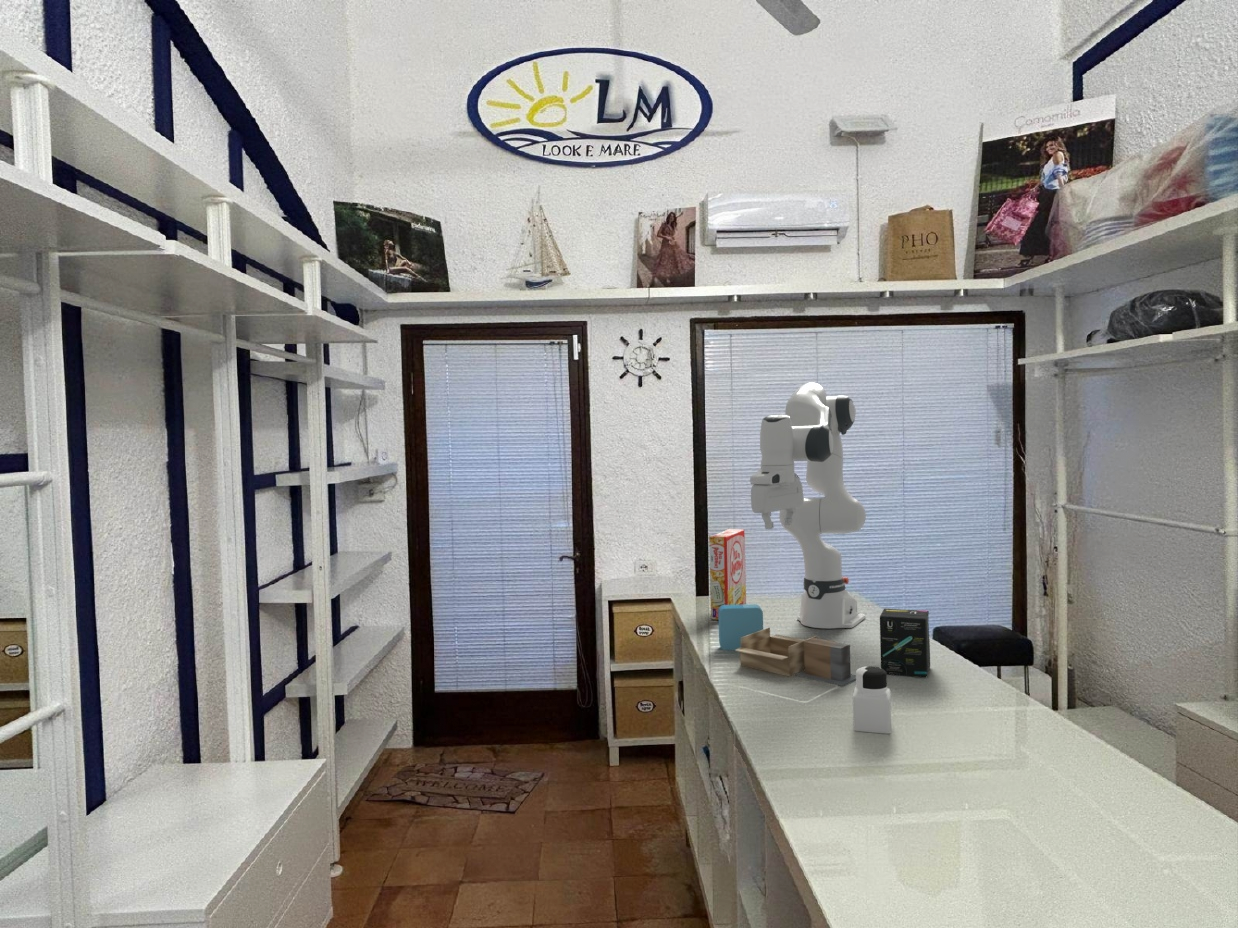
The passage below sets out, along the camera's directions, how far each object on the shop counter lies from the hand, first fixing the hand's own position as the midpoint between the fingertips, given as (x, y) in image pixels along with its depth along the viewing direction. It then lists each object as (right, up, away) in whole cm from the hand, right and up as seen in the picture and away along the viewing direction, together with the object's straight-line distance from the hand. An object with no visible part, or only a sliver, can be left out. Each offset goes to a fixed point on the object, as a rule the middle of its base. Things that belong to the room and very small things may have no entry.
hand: (779, 526), depth 218 cm
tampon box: (+28, -35, -16) cm, 48 cm away
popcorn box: (-7, -33, +51) cm, 61 cm away
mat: (+8, -35, -19) cm, 41 cm away
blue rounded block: (-9, -35, +9) cm, 37 cm away
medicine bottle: (+9, -37, -52) cm, 64 cm away
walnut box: (+8, -35, -19) cm, 41 cm away
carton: (-2, -35, -8) cm, 36 cm away
